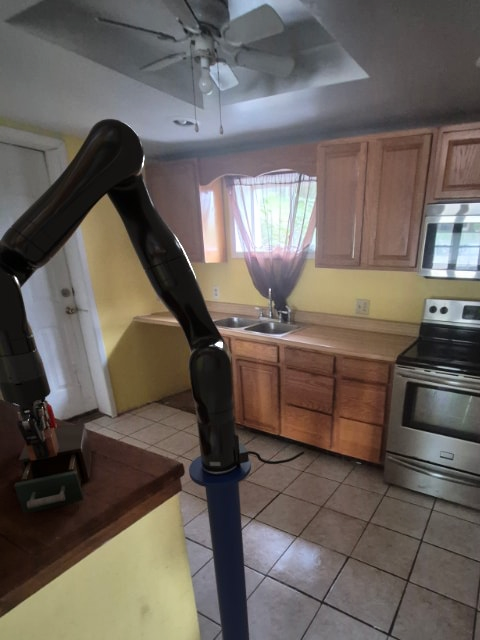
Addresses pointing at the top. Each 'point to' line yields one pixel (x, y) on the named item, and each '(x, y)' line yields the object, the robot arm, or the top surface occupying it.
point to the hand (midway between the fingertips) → (45, 451)
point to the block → (50, 442)
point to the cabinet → (69, 447)
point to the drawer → (50, 483)
